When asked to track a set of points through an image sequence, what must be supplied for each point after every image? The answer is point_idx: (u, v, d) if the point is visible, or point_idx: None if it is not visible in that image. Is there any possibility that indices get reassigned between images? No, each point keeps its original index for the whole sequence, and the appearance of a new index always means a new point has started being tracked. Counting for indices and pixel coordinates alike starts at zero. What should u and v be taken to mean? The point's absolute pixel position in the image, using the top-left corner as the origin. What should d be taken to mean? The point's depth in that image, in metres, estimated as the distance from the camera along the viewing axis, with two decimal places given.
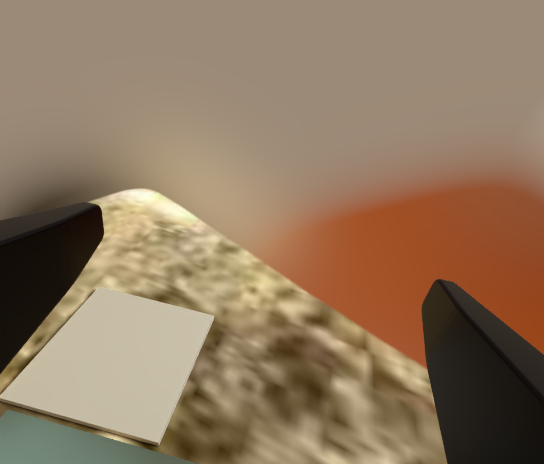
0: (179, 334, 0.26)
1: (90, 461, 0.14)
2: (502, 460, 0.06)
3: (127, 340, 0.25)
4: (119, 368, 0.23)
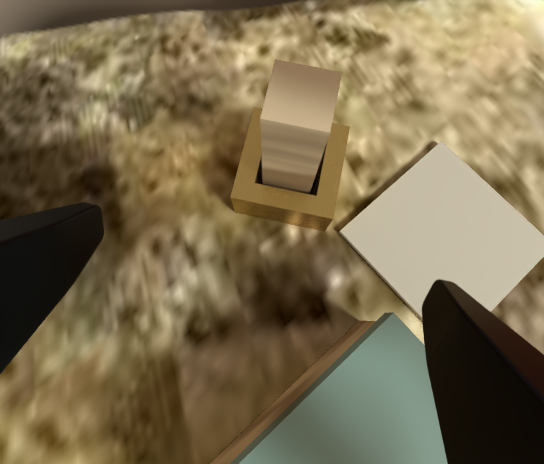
0: (507, 249, 0.23)
1: None
2: (502, 460, 0.06)
3: (453, 228, 0.23)
4: (438, 257, 0.22)
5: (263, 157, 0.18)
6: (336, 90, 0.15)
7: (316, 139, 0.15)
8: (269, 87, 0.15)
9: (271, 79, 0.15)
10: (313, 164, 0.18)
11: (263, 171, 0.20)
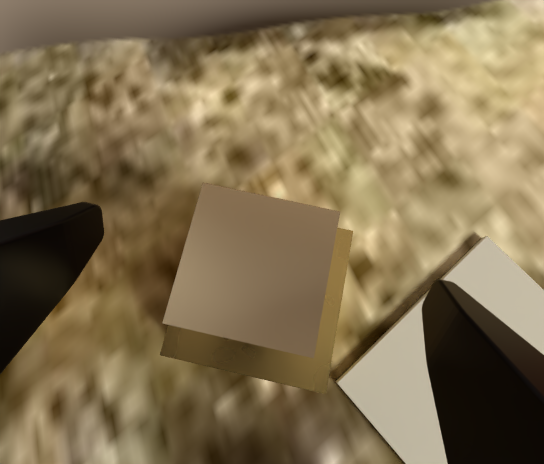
0: None
1: None
2: (502, 460, 0.06)
3: None
4: None
5: None
6: (328, 254, 0.07)
7: None
8: (186, 247, 0.07)
9: (192, 228, 0.07)
10: None
11: None
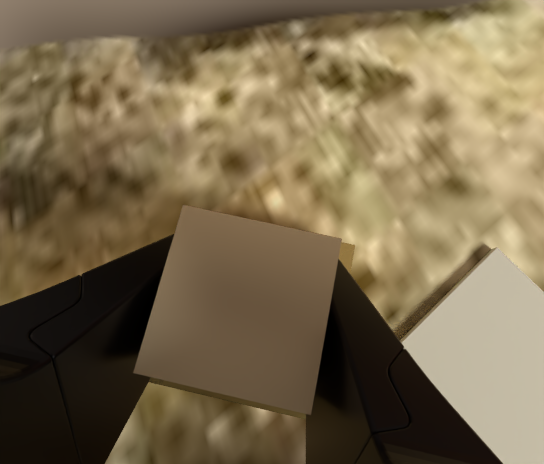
0: None
1: None
2: (327, 419, 0.06)
3: (522, 401, 0.14)
4: (500, 454, 0.14)
5: None
6: (328, 289, 0.06)
7: None
8: (163, 282, 0.06)
9: (170, 259, 0.06)
10: None
11: None
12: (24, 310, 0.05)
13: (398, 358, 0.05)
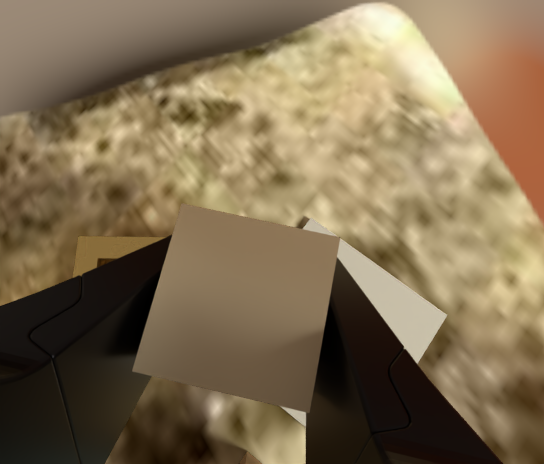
0: (398, 331, 0.20)
1: None
2: (327, 419, 0.06)
3: None
4: None
5: None
6: (326, 288, 0.06)
7: None
8: (162, 280, 0.06)
9: (168, 258, 0.06)
10: None
11: None
12: (24, 310, 0.05)
13: (398, 358, 0.05)
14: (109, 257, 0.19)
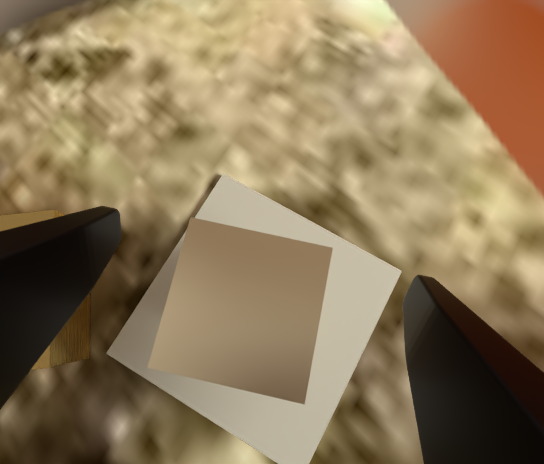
0: (343, 298, 0.16)
1: None
2: (472, 453, 0.06)
3: None
4: None
5: None
6: (320, 293, 0.07)
7: None
8: (173, 286, 0.07)
9: (179, 266, 0.07)
10: None
11: None
12: None
13: None
14: None
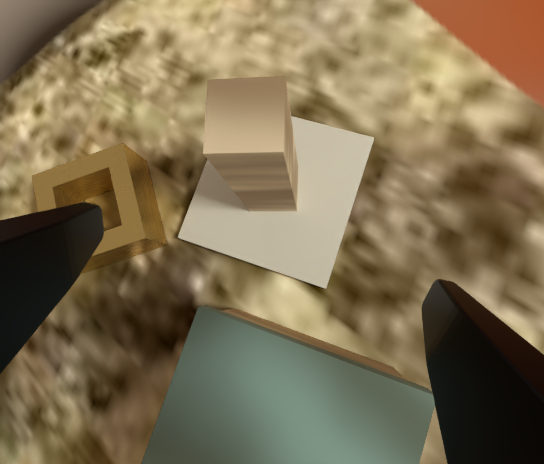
0: (333, 166, 0.22)
1: (283, 362, 0.15)
2: (502, 460, 0.06)
3: None
4: None
5: (229, 183, 0.16)
6: (282, 99, 0.13)
7: (272, 160, 0.13)
8: (206, 114, 0.13)
9: (207, 104, 0.13)
10: (283, 180, 0.16)
11: (237, 193, 0.18)
12: None
13: None
14: (61, 183, 0.21)
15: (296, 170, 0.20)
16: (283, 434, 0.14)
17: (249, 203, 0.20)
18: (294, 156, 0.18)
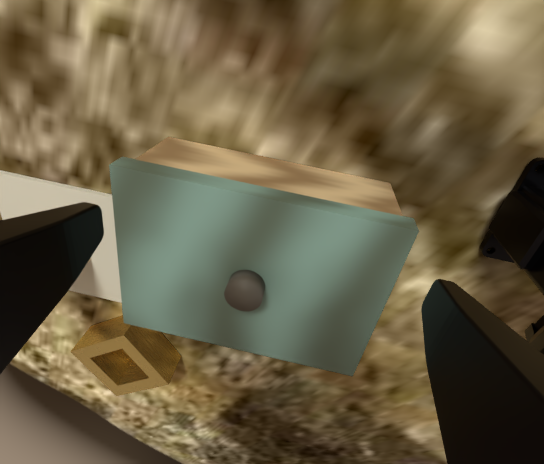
0: (27, 201, 0.25)
1: (134, 272, 0.19)
2: (502, 460, 0.06)
3: None
4: None
5: None
6: None
7: None
8: None
9: None
10: None
11: None
12: None
13: None
14: (113, 381, 0.31)
15: None
16: (181, 269, 0.19)
17: None
18: None
